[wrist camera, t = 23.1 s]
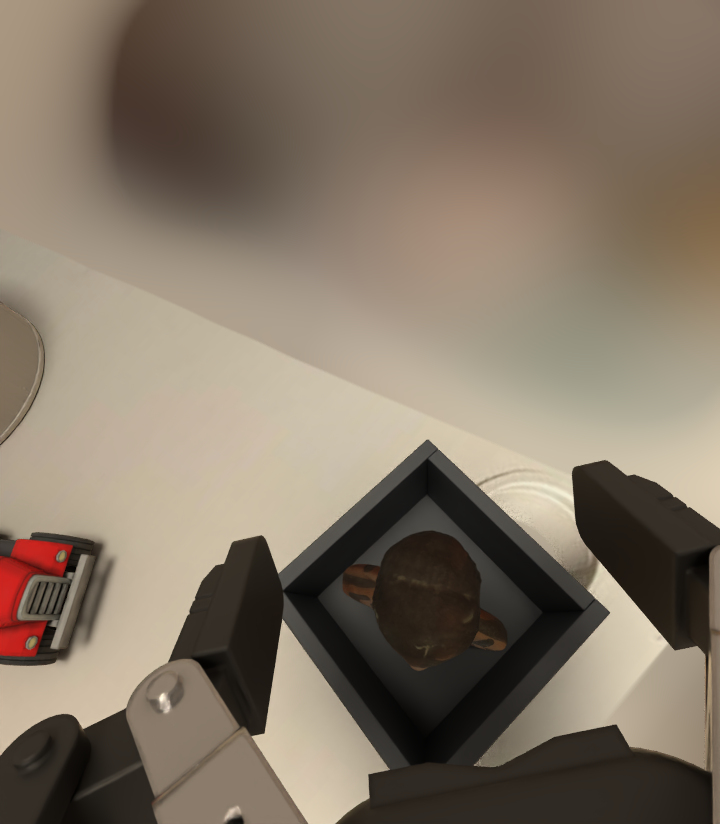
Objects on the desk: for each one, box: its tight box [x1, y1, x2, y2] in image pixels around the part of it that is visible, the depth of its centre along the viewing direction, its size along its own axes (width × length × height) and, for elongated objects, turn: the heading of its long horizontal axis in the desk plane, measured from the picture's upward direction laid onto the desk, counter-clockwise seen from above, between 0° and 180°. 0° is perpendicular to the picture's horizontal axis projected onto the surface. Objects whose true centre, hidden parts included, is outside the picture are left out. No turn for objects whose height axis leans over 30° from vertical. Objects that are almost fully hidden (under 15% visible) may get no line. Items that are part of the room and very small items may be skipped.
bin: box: [278, 440, 610, 770], centre depth 26 cm, size 12×12×9 cm
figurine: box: [342, 530, 507, 671], centre depth 21 cm, size 7×5×18 cm
